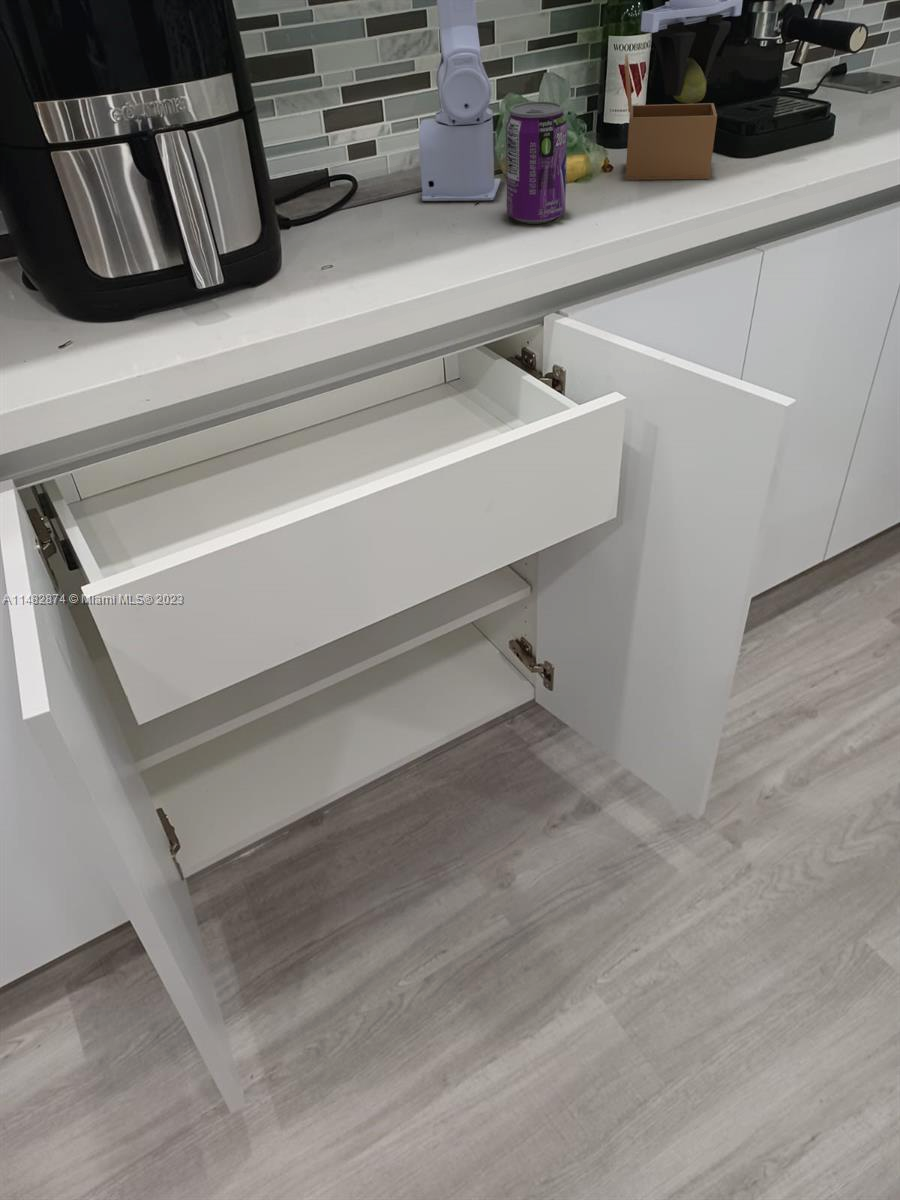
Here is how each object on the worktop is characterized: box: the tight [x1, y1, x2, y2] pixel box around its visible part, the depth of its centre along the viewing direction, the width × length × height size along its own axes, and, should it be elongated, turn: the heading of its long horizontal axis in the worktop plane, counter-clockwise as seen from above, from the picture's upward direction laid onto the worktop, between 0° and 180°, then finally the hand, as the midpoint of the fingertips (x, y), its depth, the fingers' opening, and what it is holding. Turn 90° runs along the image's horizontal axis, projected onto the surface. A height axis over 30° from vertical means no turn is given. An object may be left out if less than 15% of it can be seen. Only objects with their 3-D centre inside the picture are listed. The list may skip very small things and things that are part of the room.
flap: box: [624, 54, 633, 114], centre depth 111 cm, size 5×7×1 cm
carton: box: [624, 102, 718, 181], centre depth 115 cm, size 11×7×7 cm, turn 81°
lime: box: [672, 57, 708, 104], centre depth 108 cm, size 4×5×5 cm
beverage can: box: [505, 100, 568, 225], centre depth 103 cm, size 7×7×12 cm
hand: (684, 92), depth 109 cm, fingers closed on lime, 3 cm apart
